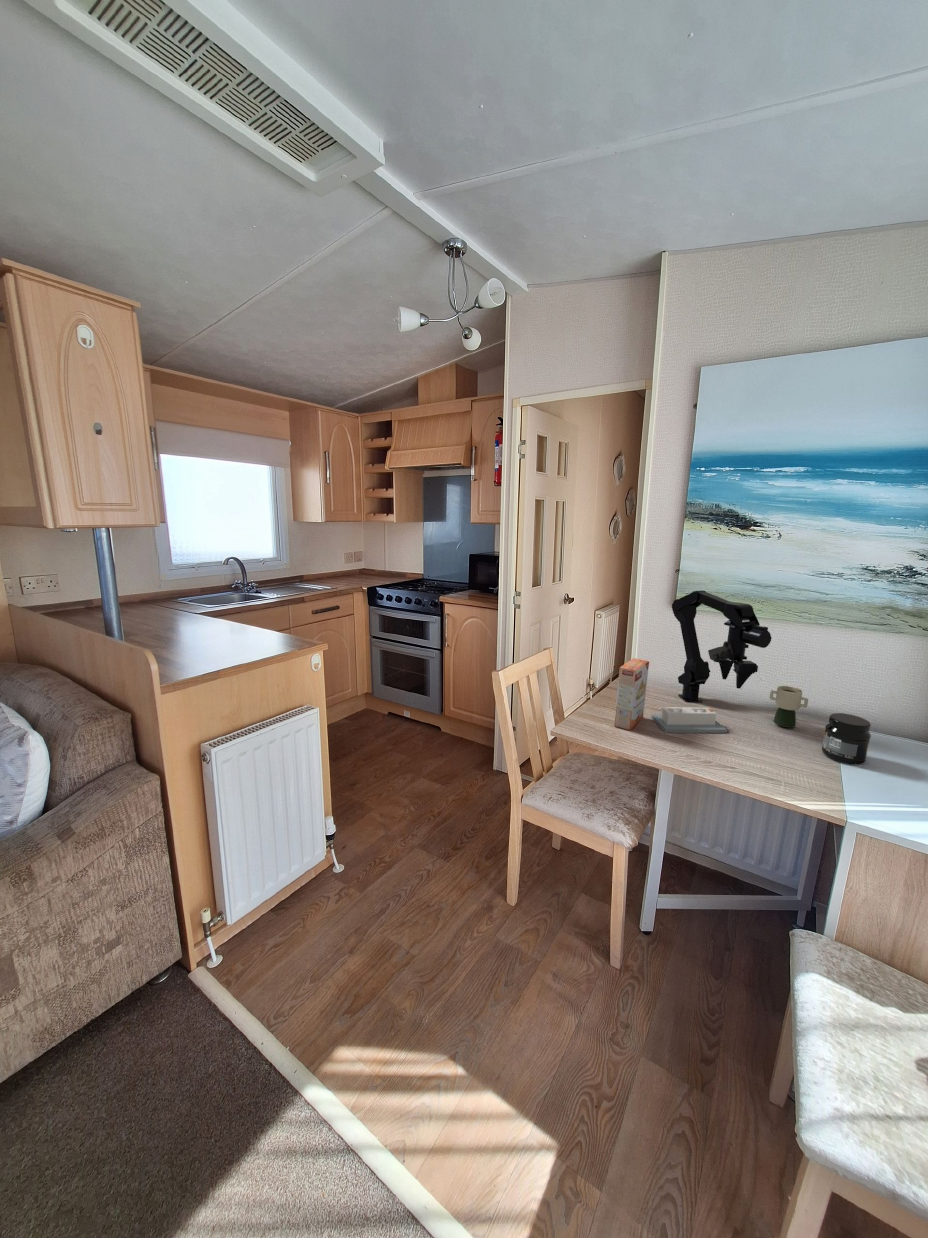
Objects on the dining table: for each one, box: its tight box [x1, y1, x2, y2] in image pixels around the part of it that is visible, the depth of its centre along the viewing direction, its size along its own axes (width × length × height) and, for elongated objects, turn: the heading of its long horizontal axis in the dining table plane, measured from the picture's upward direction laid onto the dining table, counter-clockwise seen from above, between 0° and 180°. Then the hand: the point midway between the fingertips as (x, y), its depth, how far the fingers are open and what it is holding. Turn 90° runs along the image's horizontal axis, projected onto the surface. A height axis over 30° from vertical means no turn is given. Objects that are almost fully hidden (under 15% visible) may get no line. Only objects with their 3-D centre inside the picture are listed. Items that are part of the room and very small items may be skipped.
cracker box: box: [613, 658, 650, 731], centre depth 165 cm, size 14×6×21 cm, turn 143°
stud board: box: [650, 710, 727, 734], centre depth 165 cm, size 12×20×5 cm, turn 91°
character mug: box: [769, 685, 809, 728], centre depth 165 cm, size 11×7×13 cm, turn 45°
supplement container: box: [821, 712, 872, 765], centre depth 143 cm, size 10×10×12 cm
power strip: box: [660, 706, 717, 725], centre depth 165 cm, size 5×16×4 cm, turn 91°
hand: (731, 683), depth 171 cm, fingers open, 9 cm apart
